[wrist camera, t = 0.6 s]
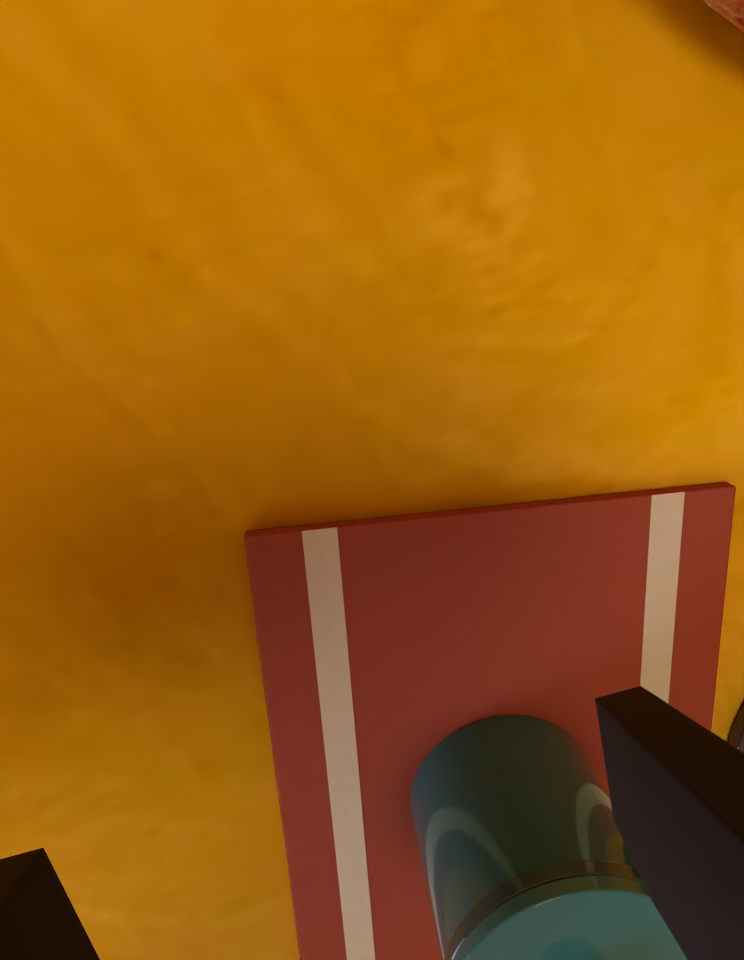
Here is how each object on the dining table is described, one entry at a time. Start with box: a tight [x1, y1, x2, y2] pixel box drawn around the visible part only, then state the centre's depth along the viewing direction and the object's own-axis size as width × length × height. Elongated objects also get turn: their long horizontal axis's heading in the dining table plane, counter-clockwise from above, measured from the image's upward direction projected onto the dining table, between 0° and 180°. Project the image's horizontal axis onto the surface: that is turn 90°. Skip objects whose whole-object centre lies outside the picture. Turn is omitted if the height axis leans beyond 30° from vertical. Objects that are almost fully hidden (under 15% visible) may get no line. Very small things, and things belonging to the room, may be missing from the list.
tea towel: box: [244, 482, 736, 960], centre depth 21 cm, size 18×13×1 cm
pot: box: [410, 715, 687, 960], centre depth 18 cm, size 6×6×7 cm
